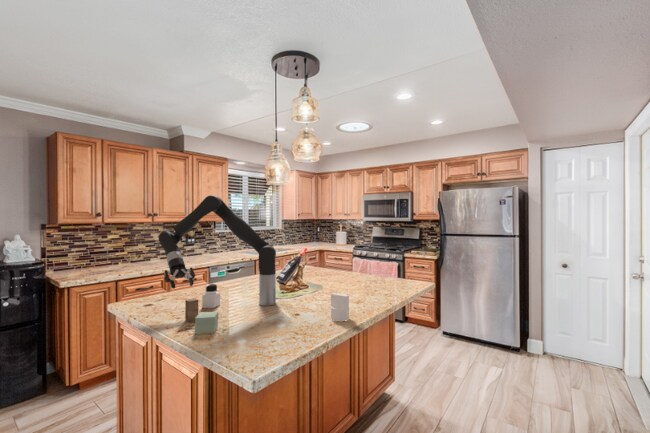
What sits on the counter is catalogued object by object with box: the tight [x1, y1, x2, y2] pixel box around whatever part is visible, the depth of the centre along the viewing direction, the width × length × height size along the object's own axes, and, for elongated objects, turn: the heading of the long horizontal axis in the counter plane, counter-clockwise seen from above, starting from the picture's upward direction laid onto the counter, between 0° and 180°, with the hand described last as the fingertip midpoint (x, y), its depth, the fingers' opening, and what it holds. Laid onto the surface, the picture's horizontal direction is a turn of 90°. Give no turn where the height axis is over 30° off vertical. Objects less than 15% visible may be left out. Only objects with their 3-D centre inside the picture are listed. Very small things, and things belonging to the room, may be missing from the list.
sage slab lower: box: [194, 320, 219, 335], centre depth 138 cm, size 8×8×4 cm
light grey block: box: [330, 292, 350, 322], centre depth 153 cm, size 9×9×12 cm
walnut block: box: [184, 297, 199, 324], centre depth 151 cm, size 4×4×10 cm
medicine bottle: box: [201, 283, 221, 309], centre depth 175 cm, size 7×7×12 cm
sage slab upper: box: [194, 311, 219, 327], centre depth 138 cm, size 8×8×4 cm
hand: (183, 286), depth 159 cm, fingers open, 8 cm apart
